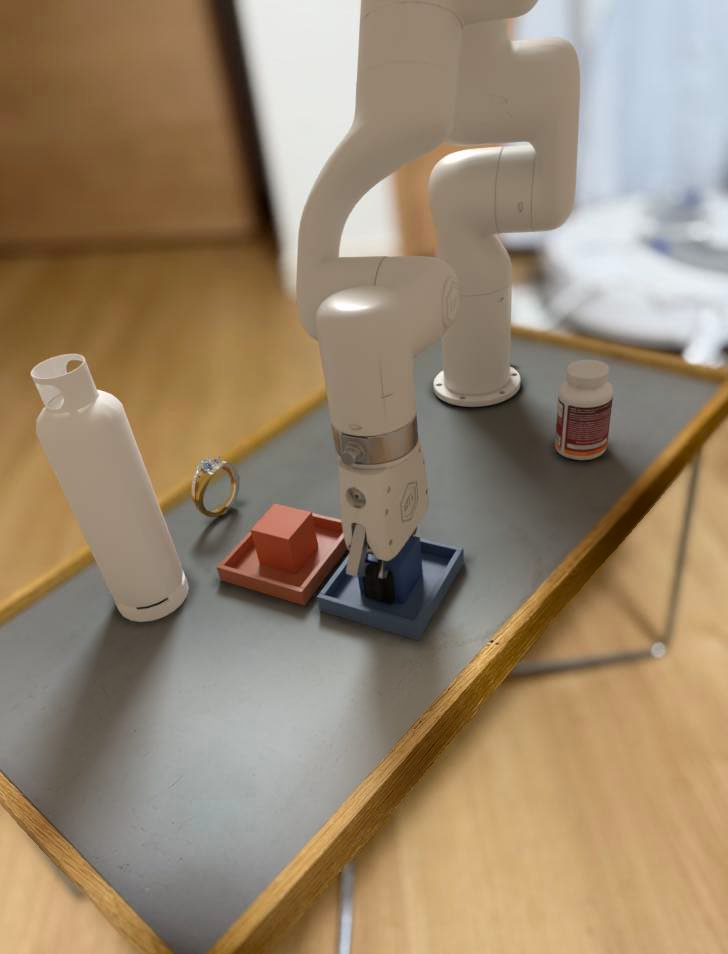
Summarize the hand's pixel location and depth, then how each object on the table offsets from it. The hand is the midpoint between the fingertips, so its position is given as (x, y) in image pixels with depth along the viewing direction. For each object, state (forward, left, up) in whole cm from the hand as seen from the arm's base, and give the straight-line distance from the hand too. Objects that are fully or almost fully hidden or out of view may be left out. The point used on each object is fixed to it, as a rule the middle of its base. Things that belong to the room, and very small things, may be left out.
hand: (391, 580), depth 74 cm
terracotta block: (0, -13, 0) cm, 13 cm away
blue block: (0, 0, 0) cm, 0 cm away
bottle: (+11, -25, -1) cm, 27 cm away
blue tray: (0, 0, -1) cm, 1 cm away
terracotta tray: (0, -13, -1) cm, 13 cm away
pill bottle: (-31, +11, -1) cm, 33 cm away
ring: (-5, -26, -1) cm, 26 cm away
